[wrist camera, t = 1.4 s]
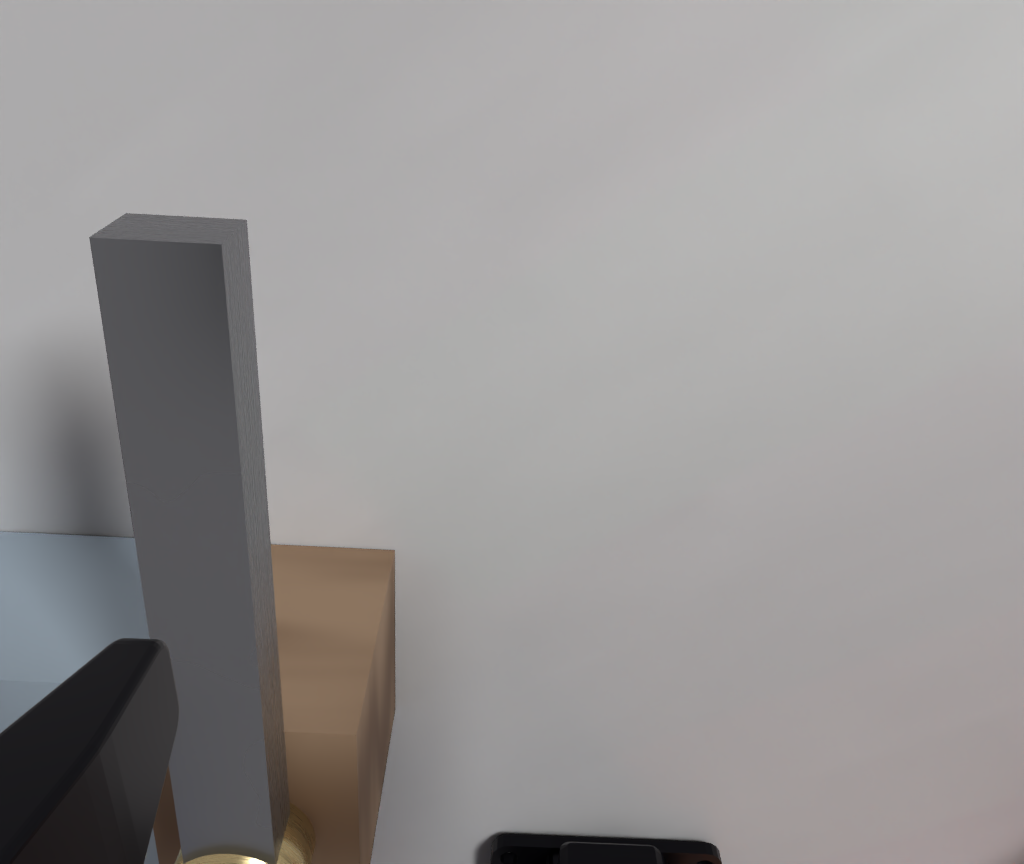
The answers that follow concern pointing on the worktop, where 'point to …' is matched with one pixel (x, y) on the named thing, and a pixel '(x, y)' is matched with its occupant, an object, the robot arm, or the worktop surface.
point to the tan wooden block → (328, 695)
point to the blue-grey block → (63, 613)
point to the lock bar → (202, 522)
